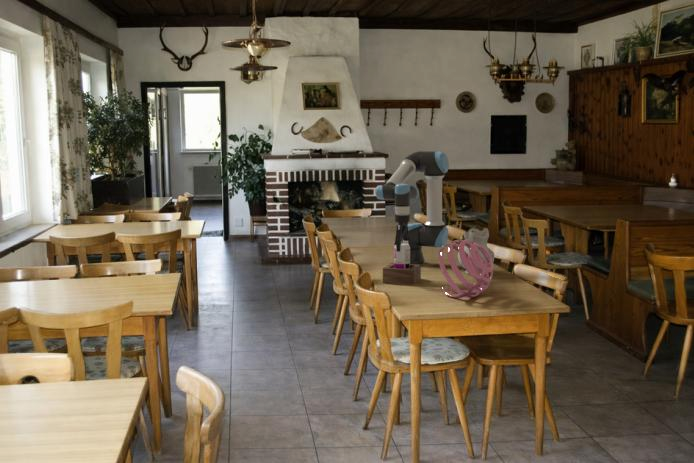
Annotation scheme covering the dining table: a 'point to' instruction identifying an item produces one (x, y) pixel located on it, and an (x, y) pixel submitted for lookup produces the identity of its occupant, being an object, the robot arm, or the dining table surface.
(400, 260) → the supplement can
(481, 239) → the grey rounded figure
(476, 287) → the spiral basket
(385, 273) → the dark wooden box
